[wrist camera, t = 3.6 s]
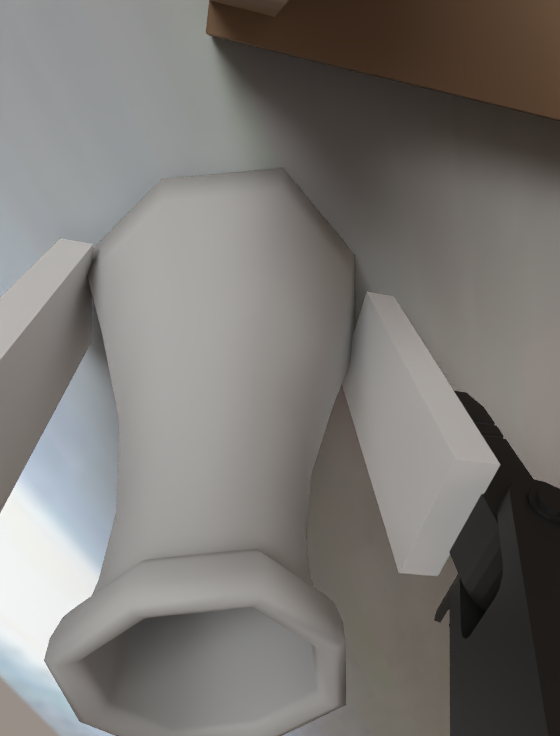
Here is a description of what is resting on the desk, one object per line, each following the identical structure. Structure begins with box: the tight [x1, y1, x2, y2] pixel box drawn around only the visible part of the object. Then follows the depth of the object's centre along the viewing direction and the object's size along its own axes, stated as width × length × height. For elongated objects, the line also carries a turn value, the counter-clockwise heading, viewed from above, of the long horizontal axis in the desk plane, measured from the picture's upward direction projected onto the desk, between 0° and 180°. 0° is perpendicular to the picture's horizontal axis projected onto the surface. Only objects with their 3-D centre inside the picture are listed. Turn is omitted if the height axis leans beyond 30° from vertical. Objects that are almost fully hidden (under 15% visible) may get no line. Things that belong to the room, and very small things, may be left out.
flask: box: [44, 168, 355, 736], centre depth 10 cm, size 7×7×10 cm
